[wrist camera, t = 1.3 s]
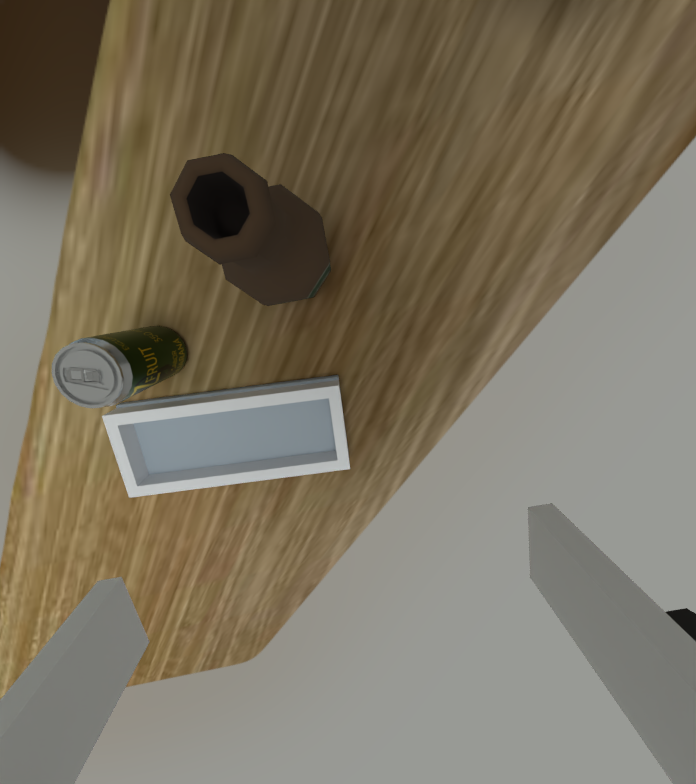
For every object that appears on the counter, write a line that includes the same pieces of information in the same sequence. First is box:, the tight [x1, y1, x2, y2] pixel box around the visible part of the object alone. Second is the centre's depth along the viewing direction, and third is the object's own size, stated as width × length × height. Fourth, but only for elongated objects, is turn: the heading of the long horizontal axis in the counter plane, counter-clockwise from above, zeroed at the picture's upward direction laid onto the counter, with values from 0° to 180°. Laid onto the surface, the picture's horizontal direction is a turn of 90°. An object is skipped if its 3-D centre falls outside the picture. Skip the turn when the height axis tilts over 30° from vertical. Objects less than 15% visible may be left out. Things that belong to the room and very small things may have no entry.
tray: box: [102, 375, 350, 498], centre depth 38 cm, size 10×24×4 cm, turn 97°
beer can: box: [52, 326, 187, 408], centre depth 31 cm, size 5×5×12 cm
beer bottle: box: [170, 153, 331, 306], centre depth 24 cm, size 8×8×24 cm
